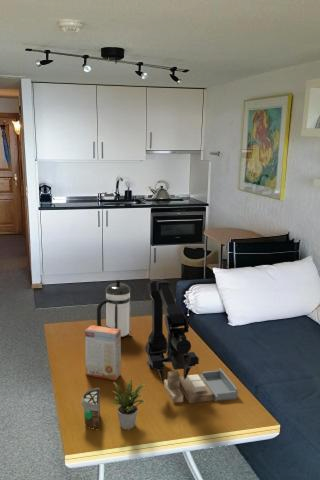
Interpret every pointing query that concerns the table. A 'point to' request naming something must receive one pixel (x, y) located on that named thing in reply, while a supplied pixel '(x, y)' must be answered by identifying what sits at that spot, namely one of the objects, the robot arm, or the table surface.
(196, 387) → the cream tile
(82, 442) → the table surface
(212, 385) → the grey tray
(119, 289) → the coffee press
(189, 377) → the cream tile
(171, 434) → the table surface
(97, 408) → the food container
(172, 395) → the beige l-shaped block
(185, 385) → the tan flat block
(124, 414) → the house plant
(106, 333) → the cracker box
